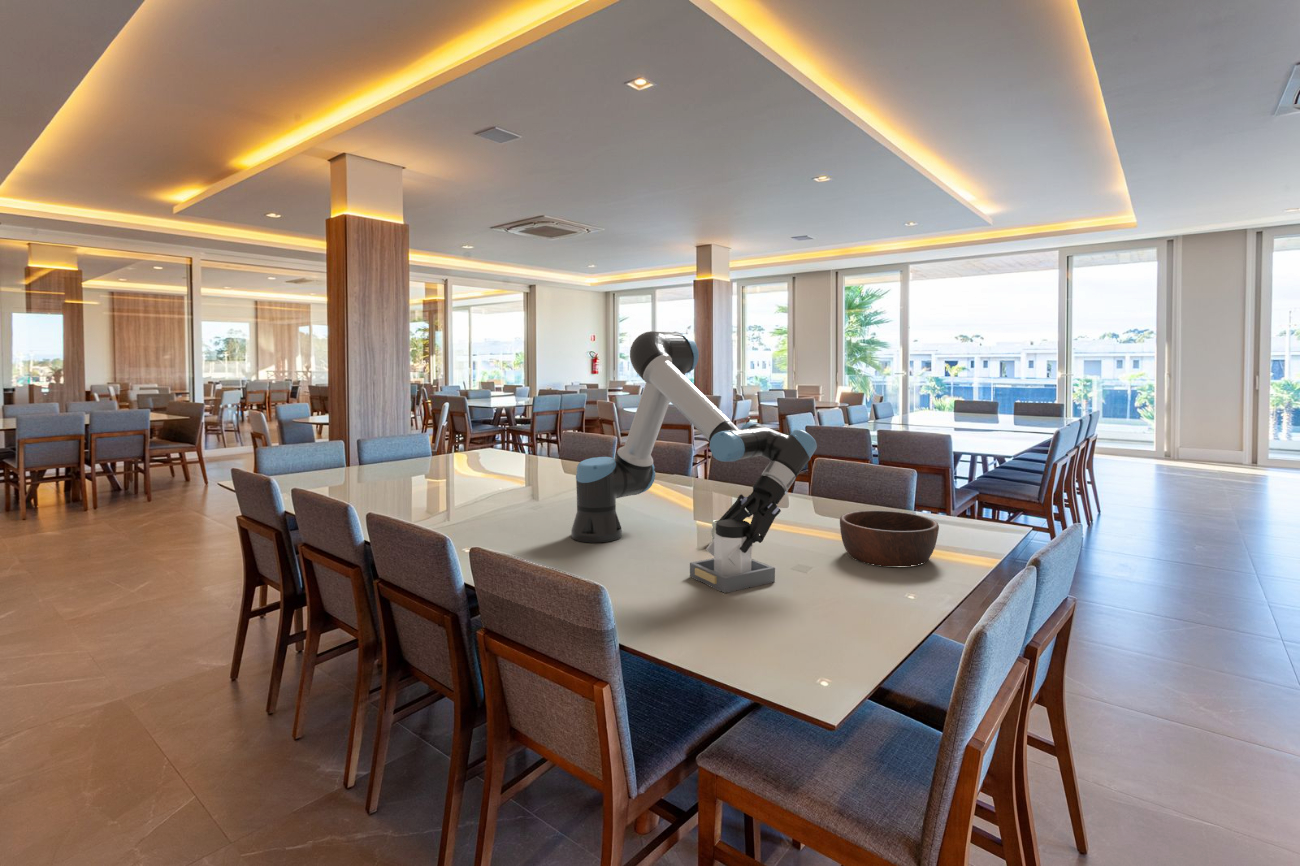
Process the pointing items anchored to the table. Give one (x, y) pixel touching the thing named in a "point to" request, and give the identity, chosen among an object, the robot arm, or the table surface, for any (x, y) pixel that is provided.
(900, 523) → the wooden bowl
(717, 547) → the jar
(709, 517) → the table surface
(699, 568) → the tray
